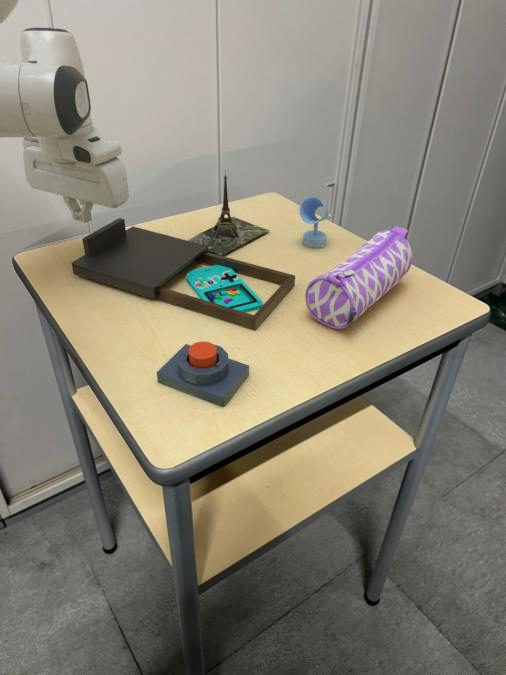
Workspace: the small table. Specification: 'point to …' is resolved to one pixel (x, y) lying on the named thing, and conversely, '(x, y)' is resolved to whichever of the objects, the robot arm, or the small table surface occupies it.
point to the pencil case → (359, 279)
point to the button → (202, 355)
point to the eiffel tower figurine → (227, 231)
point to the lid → (134, 258)
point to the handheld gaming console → (223, 288)
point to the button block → (204, 376)
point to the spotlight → (313, 222)
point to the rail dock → (225, 312)
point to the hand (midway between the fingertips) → (82, 220)
